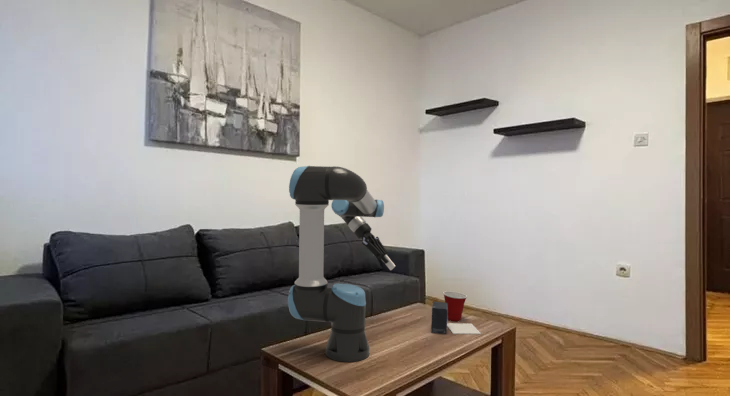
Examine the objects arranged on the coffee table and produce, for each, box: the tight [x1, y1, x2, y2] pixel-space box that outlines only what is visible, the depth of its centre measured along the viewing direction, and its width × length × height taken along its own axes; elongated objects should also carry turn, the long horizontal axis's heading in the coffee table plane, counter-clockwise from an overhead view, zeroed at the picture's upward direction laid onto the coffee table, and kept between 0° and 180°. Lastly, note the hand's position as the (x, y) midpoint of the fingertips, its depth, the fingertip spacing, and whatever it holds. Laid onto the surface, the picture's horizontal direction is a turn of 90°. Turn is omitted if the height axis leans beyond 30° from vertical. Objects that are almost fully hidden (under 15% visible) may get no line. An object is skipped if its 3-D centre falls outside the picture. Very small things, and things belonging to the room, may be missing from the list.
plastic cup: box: [442, 290, 468, 323], centre depth 187 cm, size 11×11×12 cm
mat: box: [447, 322, 482, 335], centre depth 175 cm, size 12×13×1 cm
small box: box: [430, 301, 448, 335], centre depth 173 cm, size 11×6×10 cm, turn 168°
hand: (393, 268), depth 182 cm, fingers closed
